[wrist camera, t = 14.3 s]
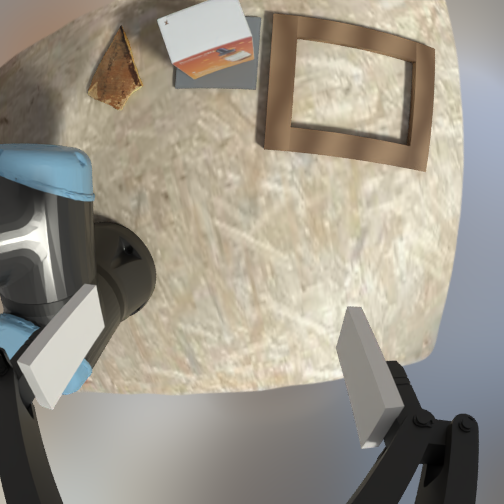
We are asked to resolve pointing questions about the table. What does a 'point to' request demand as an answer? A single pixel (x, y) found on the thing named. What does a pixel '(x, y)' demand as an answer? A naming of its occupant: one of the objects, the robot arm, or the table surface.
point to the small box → (207, 37)
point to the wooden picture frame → (338, 144)
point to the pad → (228, 69)
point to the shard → (116, 74)
